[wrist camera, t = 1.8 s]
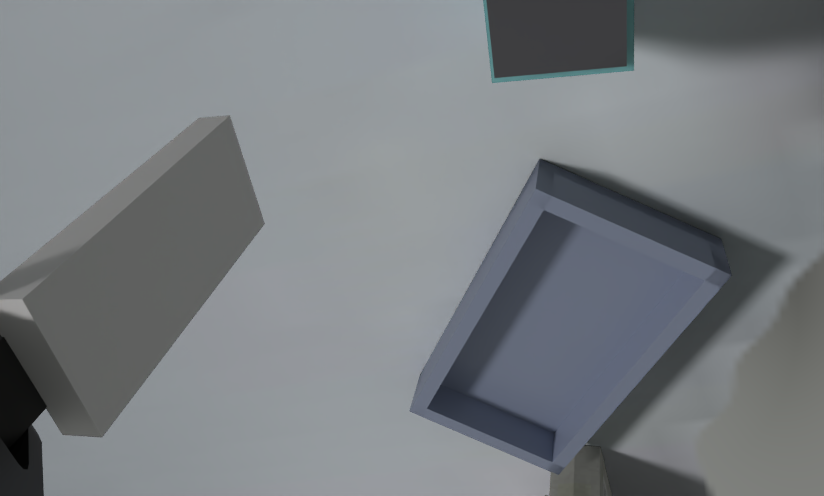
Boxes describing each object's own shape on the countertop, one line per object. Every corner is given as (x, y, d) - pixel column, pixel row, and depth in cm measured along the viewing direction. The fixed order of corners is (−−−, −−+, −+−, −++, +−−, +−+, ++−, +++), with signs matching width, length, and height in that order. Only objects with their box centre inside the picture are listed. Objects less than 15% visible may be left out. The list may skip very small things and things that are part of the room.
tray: (539, 158, 32) (535, 188, 30) (721, 239, 33) (731, 275, 30) (420, 375, 42) (409, 411, 40) (560, 435, 42) (558, 475, 40)
